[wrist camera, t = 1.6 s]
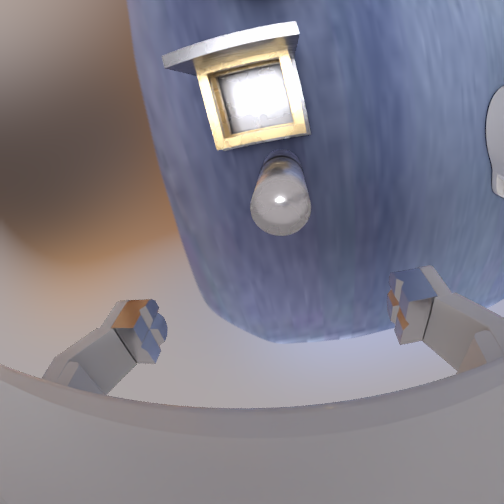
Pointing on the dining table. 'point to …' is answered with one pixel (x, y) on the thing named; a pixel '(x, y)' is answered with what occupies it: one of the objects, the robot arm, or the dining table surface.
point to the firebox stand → (248, 84)
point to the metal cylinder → (281, 195)
